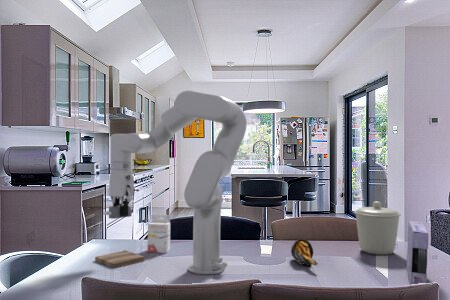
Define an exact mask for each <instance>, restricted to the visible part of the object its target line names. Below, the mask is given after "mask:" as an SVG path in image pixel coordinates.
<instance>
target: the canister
mask: <svg viewBox="0 0 450 300" xmlns="http://www.w3.org/2000/svg"><path fill="white" fill-rule="evenodd" d="M382 206H383V205H382V202H380V201H377V200H376V201H375V200H374V201H373V202H372V206H365V207H359V208H357V209H355V210H354V214H355V217H356V218H355V219H356V220H355V221H356V229H357V236H358V237H357V238H358V244H359V248H360V249H361V250H362V252H365V253H367V254H371V255H375V256H377V255H378V256H380V255H381V256H386V255H387V256H388V255H391V254H393V252H394V251H395V249H396V245H397V236H398V230H399V221H400V216H401V215H402V213H400V212H398V210H397V209H393V208H389V207H382Z"/></svg>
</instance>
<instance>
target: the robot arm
mask: <svg viewBox="0 0 450 300" xmlns="http://www.w3.org/2000/svg"><path fill="white" fill-rule="evenodd" d="M160 118H161V119H160V123H159V124H158V125H157V126H156V127H155V128H153V129H152V130H151V131H150V130H149V132H146V133H143V132H131V133H113V134H111V136H110V171H109V172H110V174H109V184H108V185H109V187H108V188H109V190H108V191H109V197H110V199H111V201H112V202H111V204H112V206H119V205H121V206H120V216H121V217H123V216H128V205H130V202H131V201H132V199H133V197H134V194H135V191H134V189H135V187H134V177H133V172H132V154H150V153H153V152H154V151H156V150H158V149H159V148H161V147H162V146H164V145H165V144H167V143H168V142H169V141H170V140H171V139H172V138H173V137H174V136H175V134H176V133H178V132H179V131H181V130H183V129H184V128H185V127H187V126H188V125H190V124H191V123H193V122H195V121H197V119H200V120H205V121H209V122H210V121H211V122H215V123H219V124H221V125H222V126H221V128H222V129H221V130H220V131H219V133H218V134H217V137H216V139H215V142H214V145H213V146H212V148H211V150H207V151H205V152H203V153H202V154H201V155H200V156H199V157H198V158H197V160H196V162H195V164H194V166H193V169H192V171H191V173H190V176H189V179H188V181H187V183H186V185H185V186H186V187H185V188H184V193H183V197H184V201H185V203H186V205H187V206H188V207H189V208H191V209H193V210H194V211H193V221H192V222H193V223H192V250H193V251H192V262H191V263H190V264H189V265H188V271H189V272H191V273H192V274H193V273H194V274H196V275H214V274H215V275H216V274H220V273H222V272H224V271H225V269H226V268H227V267H228V263H227V262H224V261H223V256H221V217H222V214H221V213H222V203H223V189H222V187H221V185H220V184H219V183H220V180H221V179H222V178H225V177H226V176H228V175H229V173H230V171H231V170H232V167H233V164H234V162H235V159H236V158H237V155H238V152H239V150H240V146H241V145H242V142H243V140H244V137H245V136H246V135H245V134H246V131H247V127H248V126H247V118H246V115H245V113H244V111H243V109H242V108H241V107H240V106H239V105H238V104H237V103H236V102H234V101H233V100H232V99H231V100H230V99H229V98H227V97H224V96H220V95H215V94H210V93H205V92H198V91H193V90H184V91H181V92H180V93H178V95H176V97H175V99H174V105H173V106H171V107H170V108H168V109H167V110H165V111H164V112H162V113H161V115H160ZM123 218H124V217H123Z"/></svg>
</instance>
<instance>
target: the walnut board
mask: <svg viewBox="0 0 450 300" xmlns="http://www.w3.org/2000/svg"><path fill="white" fill-rule="evenodd" d="M145 257H146V256H144V255H141V254H138V253H135V252H131V251H128V250H122V251H117V252H113V253H108V254H102V255H98V256H97V255H96V256H95V259H94V260H95V262H97V263H100V264H103V265H105V266H107V267H111V268H113V269H115V268H121V267H124V266H128V265H133V264H136V263H137V264H138V263H141V262H145V260H146V259H145Z"/></svg>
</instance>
